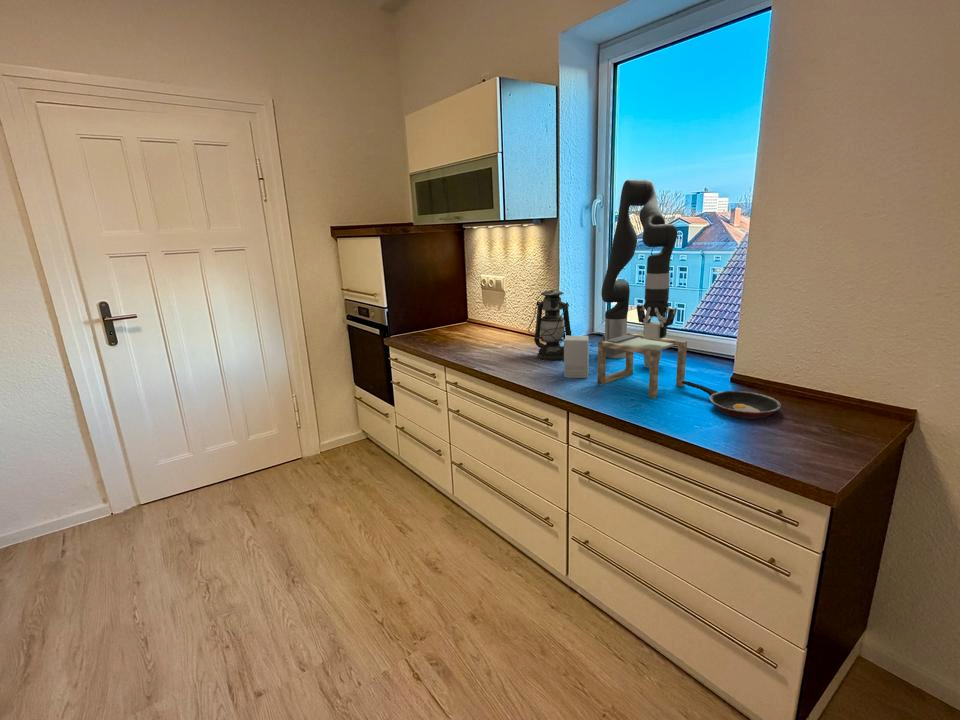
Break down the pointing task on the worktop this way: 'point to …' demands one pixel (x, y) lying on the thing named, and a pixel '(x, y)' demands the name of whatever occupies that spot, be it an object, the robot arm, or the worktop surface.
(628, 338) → the trapdoor
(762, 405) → the frying pan
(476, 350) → the worktop surface
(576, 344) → the supplement box
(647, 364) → the house plant
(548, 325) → the lantern
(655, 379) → the frame
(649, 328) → the cube
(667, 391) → the worktop surface
